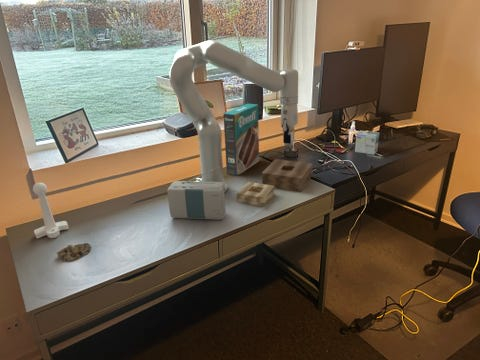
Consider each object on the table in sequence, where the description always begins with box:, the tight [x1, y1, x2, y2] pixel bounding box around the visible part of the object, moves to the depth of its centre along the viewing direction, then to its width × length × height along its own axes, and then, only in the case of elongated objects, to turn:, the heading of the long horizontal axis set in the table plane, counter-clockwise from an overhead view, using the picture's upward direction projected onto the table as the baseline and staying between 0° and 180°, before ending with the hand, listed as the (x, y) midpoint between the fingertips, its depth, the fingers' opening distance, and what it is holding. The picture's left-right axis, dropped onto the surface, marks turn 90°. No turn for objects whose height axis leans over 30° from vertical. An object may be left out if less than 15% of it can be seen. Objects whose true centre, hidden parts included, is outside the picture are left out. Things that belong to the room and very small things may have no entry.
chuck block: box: [261, 158, 313, 193], centre depth 171 cm, size 18×18×6 cm
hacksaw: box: [312, 157, 346, 174], centre depth 188 cm, size 24×10×2 cm, turn 122°
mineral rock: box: [56, 242, 92, 263], centre depth 125 cm, size 11×4×8 cm
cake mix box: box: [222, 103, 260, 177], centre depth 184 cm, size 22×6×30 cm, turn 148°
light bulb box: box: [354, 130, 380, 155], centre depth 202 cm, size 11×7×11 cm, turn 58°
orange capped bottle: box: [284, 126, 295, 151], centre depth 164 cm, size 4×4×11 cm
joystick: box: [32, 181, 70, 239], centre depth 133 cm, size 11×8×20 cm
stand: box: [236, 181, 275, 207], centre depth 157 cm, size 12×12×4 cm
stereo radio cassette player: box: [167, 167, 226, 221], centre depth 142 cm, size 21×8×20 cm, turn 82°
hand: (288, 141), depth 165 cm, fingers closed on orange capped bottle, 4 cm apart
